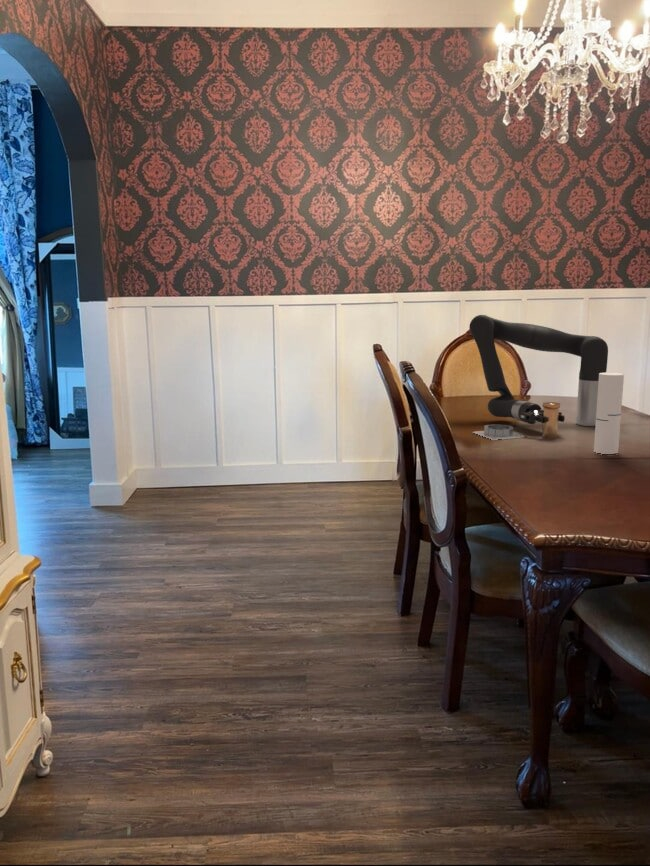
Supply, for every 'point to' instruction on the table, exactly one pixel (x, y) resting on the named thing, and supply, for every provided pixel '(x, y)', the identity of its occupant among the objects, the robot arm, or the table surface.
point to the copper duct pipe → (550, 419)
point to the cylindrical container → (608, 413)
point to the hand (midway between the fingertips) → (554, 419)
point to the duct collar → (498, 432)
